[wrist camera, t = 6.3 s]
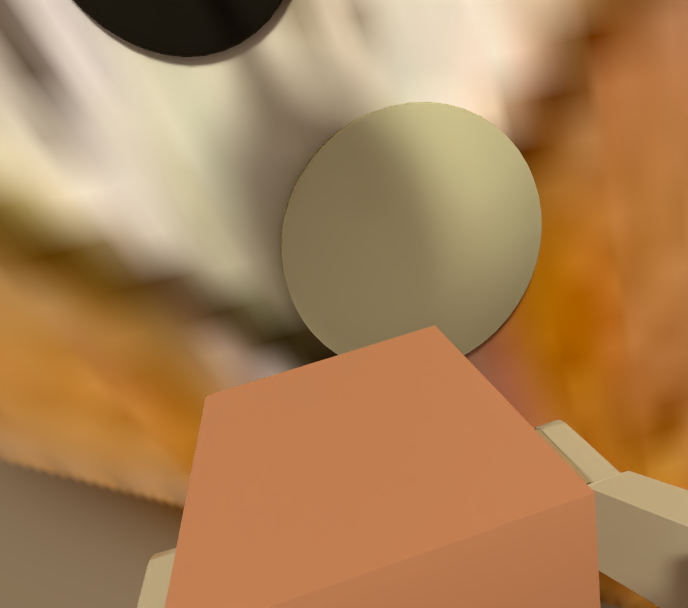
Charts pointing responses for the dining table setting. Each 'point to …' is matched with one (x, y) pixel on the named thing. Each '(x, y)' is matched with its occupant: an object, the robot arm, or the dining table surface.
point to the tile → (411, 229)
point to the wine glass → (182, 22)
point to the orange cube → (381, 492)
